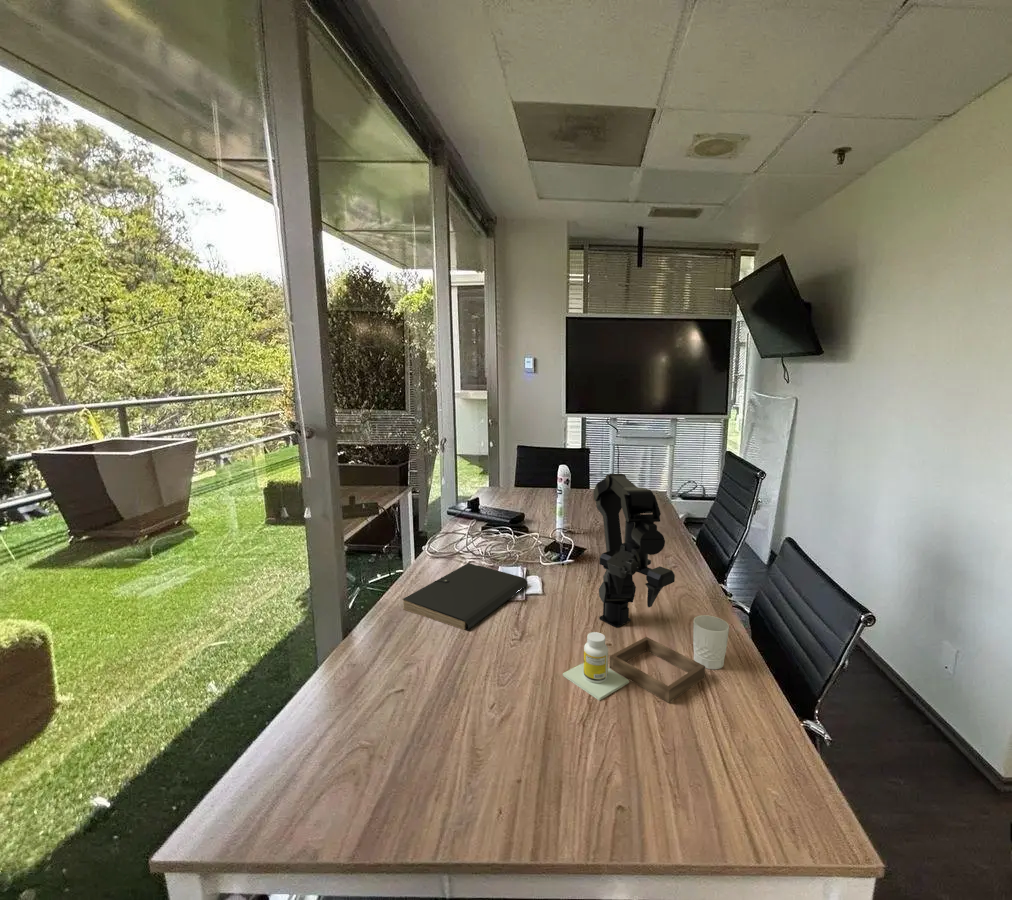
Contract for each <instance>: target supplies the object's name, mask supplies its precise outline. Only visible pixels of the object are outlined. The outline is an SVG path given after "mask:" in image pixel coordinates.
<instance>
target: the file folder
mask: <svg viewBox="0 0 1012 900" xmlns="http://www.w3.org/2000/svg"><path fill="white" fill-rule="evenodd" d="M528 584H529V583H528V581H527V579H526V578H525V577H523V576H519V575H516V574H512V573H508V572H504V571H500V570H497V569H493V568H489V567H486V566H482V565H477V564H473V563H469V562H468V563H466V564H464V565H462V566H460V567H459V568H456V569H455V570H453V571H451V572H449V573H447V574H445V575H444V576H441V577H440V578H438V579H436V580H434V581H433V582H431V583H429V584H427V585H426V586H423V587H421V588H420V589H418V590H416V591H415V592H413V593H411V594H409V595H407V596H405V597H403V598H402V600H403V605H402V606H403V607H402V608H403V610H404V611H407V612H410V613H413V614H415V615H418V616H422V617H425V618H427V619H431V620H435V621H437V622H440V623H443V624H445V625H450V626H452V627H454V628H458V629H461V630H464V631H465V630H466V631H469V630H470V629H472V628H473V627H474V626H476V625H477V624H478V623H480V622H481V621H482V620H484V619H485V618H486V617H487V616H489V615H490V614H492V613H494V611H496V610H497V609H498V608H499V607H501V606H502V605H503V604H505V603H507V600H508V601H509V600H511V597H512V596H513V595H514V594H515V593H516V592H517V591H518V590H520V589H521V588H523V587H525V588H526V587H527V586H528ZM514 596H515V595H514ZM514 596H513V597H514ZM513 597H512V598H513Z"/></svg>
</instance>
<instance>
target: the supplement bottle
mask: <svg viewBox="0 0 1012 900" xmlns="http://www.w3.org/2000/svg"><path fill="white" fill-rule="evenodd" d="M583 663H584V677H585V678H586V679H587V680H588V681H590V682H593V683H601V682H604V681H605V680H606V679H607V677H608V668H609V648H608V645H607V644H606V636H605V634H603V633H601V632H597V631H593V632H592V631H591V632H589V633H588V634H587V637H586V643H585V644H584V645H583Z"/></svg>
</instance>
